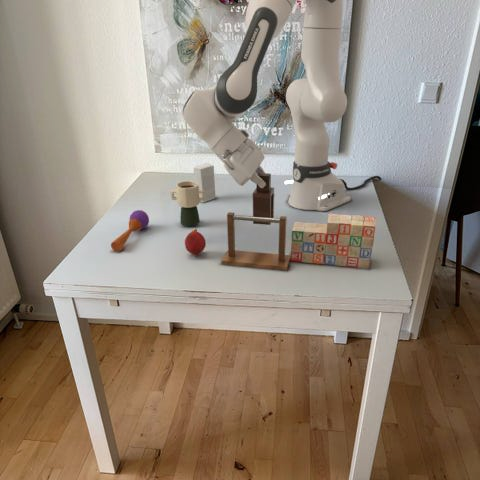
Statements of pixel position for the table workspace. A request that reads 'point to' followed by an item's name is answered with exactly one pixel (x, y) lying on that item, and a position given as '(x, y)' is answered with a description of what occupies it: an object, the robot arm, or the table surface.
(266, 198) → the brown stepped block
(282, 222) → the rail
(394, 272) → the table surface
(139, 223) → the kendama
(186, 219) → the character mug
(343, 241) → the stack of blocks
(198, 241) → the onion
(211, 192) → the cosmetic box
